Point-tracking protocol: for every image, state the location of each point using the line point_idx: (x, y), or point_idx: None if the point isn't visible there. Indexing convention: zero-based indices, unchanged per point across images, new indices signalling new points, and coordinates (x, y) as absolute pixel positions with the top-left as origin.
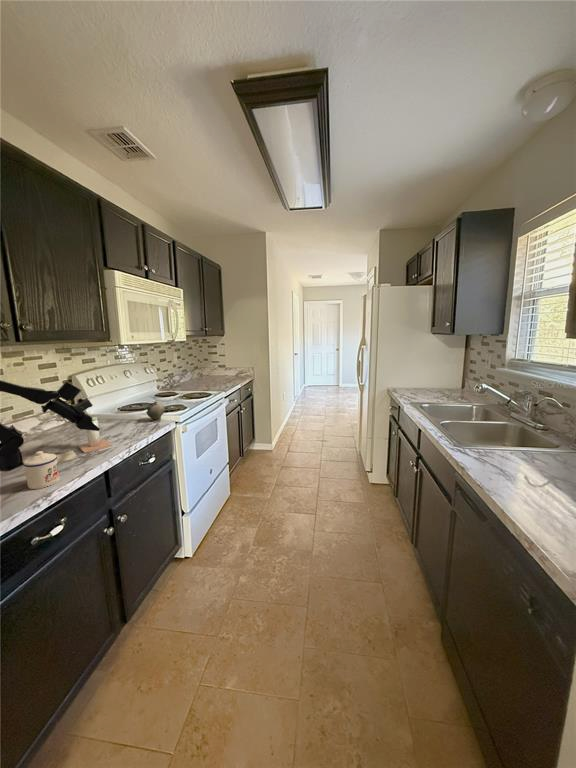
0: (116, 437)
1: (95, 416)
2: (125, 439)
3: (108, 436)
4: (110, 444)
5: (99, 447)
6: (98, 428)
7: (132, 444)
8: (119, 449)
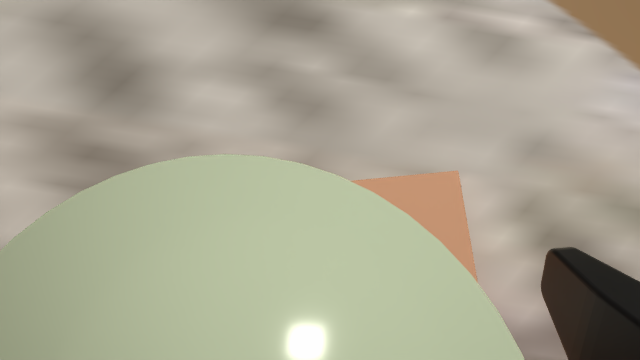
0: (170, 83)
1: (71, 212)
2: (318, 24)
3: (57, 144)
4: (435, 182)
5: None
6: (606, 276)
7: (544, 2)
8: (632, 134)
